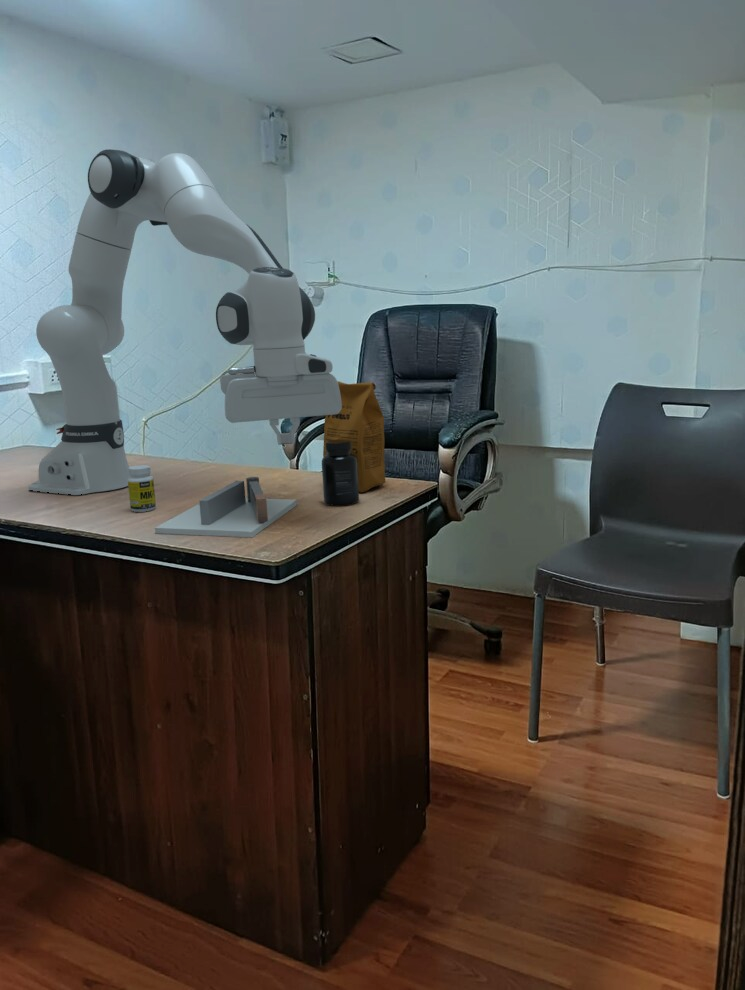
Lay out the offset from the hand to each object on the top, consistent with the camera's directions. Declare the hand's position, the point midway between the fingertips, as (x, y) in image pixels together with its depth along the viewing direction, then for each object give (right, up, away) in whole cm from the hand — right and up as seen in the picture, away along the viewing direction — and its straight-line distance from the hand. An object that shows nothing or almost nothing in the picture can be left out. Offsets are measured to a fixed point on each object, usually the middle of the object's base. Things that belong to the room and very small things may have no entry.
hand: (286, 443), depth 141 cm
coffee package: (+11, -8, +27) cm, 30 cm away
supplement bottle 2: (+9, -11, +14) cm, 20 cm away
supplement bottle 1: (-29, -12, +14) cm, 35 cm away
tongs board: (-11, -13, +5) cm, 18 cm away
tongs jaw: (-5, -12, +4) cm, 14 cm away
